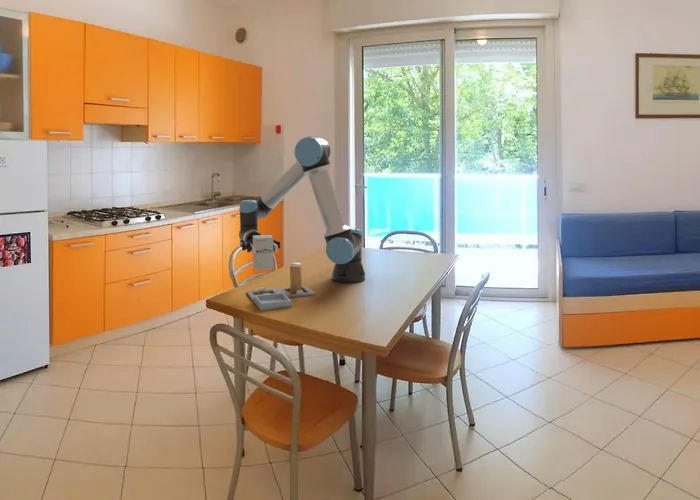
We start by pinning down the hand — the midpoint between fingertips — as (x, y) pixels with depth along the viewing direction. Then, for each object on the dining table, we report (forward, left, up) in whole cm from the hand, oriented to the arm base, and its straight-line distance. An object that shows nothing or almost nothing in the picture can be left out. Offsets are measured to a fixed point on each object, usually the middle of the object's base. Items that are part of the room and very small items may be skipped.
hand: (265, 249), depth 196 cm
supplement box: (0, -5, -9) cm, 10 cm away
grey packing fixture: (-7, -6, -20) cm, 22 cm away
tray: (-1, +6, -20) cm, 21 cm away
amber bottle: (-14, -6, -20) cm, 25 cm away
